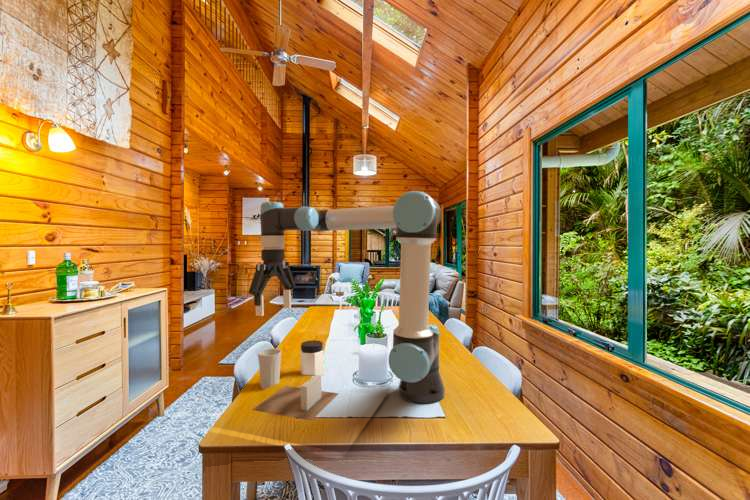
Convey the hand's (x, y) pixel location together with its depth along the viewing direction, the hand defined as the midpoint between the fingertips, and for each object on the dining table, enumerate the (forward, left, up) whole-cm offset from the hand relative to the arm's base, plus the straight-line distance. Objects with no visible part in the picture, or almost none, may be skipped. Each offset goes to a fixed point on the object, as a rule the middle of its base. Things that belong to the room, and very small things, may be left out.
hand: (274, 311), depth 119 cm
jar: (-4, -18, -27) cm, 33 cm away
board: (-12, +6, -27) cm, 31 cm away
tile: (-17, +6, -26) cm, 32 cm away
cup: (+5, -4, -27) cm, 28 cm away
